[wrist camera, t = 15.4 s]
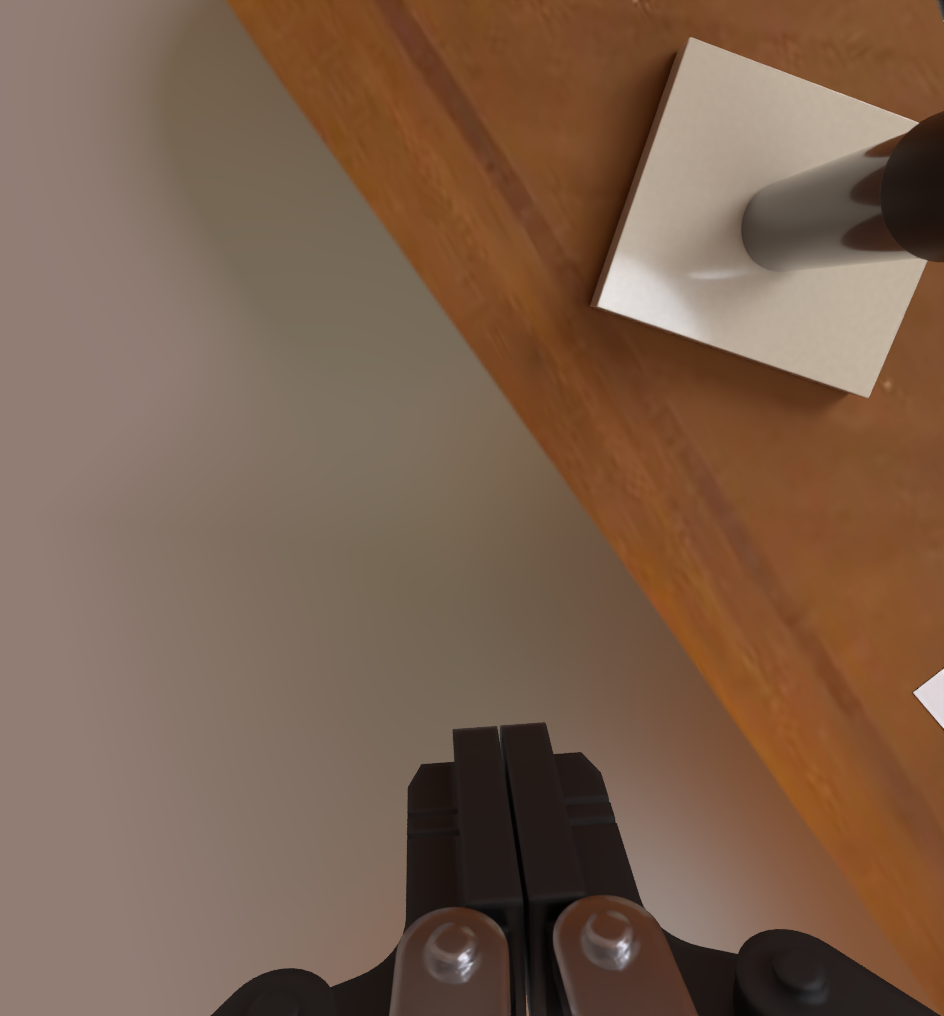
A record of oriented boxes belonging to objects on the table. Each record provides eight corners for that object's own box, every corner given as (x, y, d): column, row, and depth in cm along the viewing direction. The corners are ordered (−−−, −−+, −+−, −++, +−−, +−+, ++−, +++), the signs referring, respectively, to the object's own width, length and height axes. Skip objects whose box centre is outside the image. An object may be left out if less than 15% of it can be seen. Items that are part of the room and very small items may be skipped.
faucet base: (951, 152, 40) (1242, 63, 25) (849, 394, 42) (1060, 440, 28) (677, 49, 39) (818, -107, 24) (589, 306, 41) (667, 306, 26)
